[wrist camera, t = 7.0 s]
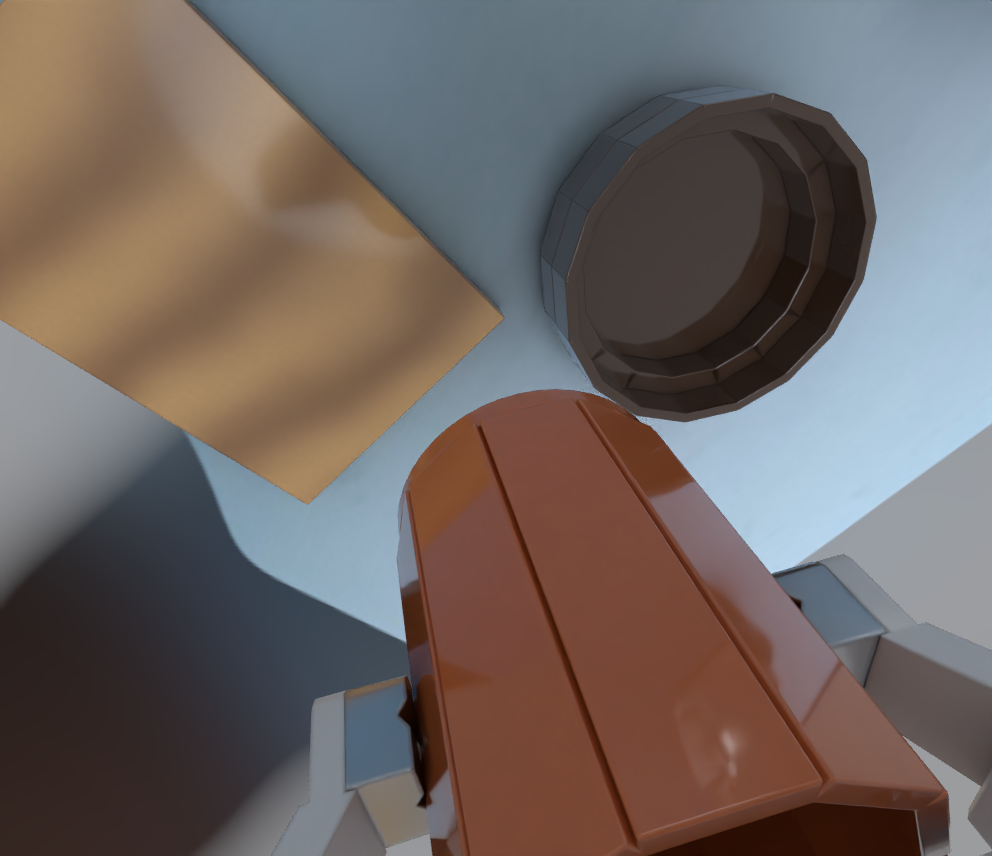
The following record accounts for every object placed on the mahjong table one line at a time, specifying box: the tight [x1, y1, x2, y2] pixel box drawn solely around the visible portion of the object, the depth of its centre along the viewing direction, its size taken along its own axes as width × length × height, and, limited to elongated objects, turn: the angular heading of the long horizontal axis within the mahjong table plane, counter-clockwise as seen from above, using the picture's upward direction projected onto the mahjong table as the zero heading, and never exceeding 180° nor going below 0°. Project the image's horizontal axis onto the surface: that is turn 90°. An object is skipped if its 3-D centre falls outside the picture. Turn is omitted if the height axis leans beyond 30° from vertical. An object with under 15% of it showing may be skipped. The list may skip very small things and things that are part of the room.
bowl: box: [540, 86, 877, 422], centre depth 29 cm, size 14×14×4 cm
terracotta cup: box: [397, 389, 952, 856], centre depth 11 cm, size 6×6×8 cm
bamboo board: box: [0, 0, 504, 505], centre depth 26 cm, size 20×14×1 cm
